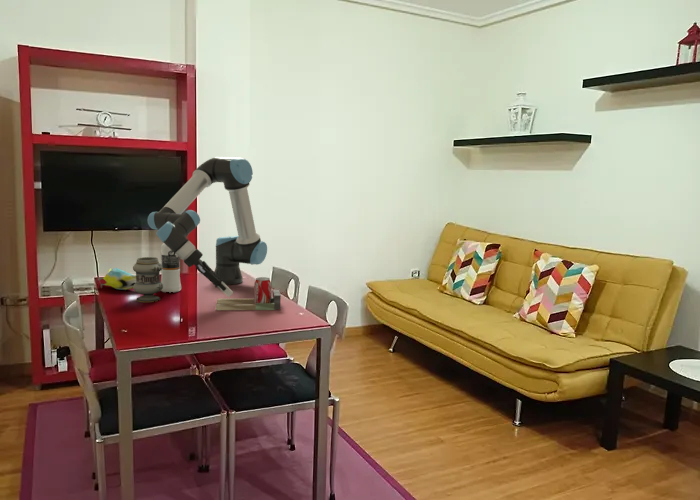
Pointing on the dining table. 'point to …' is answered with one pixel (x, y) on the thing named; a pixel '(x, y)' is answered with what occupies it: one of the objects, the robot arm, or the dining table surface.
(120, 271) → the decorative bird
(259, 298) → the soda can
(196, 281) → the dining table surface
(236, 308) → the guide channel
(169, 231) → the robot arm
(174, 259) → the vodka
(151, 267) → the apothecary jar
